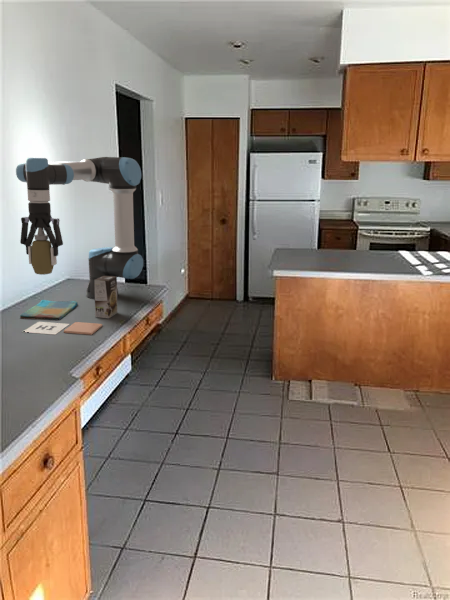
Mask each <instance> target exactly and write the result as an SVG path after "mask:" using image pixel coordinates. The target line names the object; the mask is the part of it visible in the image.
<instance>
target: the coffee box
mask: <svg viewBox="0 0 450 600" xmlns="http://www.w3.org/2000/svg"><path fill="white" fill-rule="evenodd" d="M117 278H118V277H115V276H102V277H100V278H97V279H95V299H94V311H95V312H94V315H95V316H94V317H95V318H101V319H110V318H112V317H114V316H115V315H116V314H118V296H117V288H118V279H117Z"/></svg>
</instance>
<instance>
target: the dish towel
mask: <svg viewBox="0 0 450 600" xmlns="http://www.w3.org/2000/svg"><path fill="white" fill-rule="evenodd" d="M78 305H79V304H78V301H76V300H69V301H67V300H65V301H64V300H62V301H60V300H58V301H55V300H53V301H52V300H48V299H42V300H39V302H38V303H37V304H35V305H34V306H32V307H30V308H29V309H28V310H26V311H25V312H23V313H21V314H20V315H19V317H20V319H24V318H25V320H43V321H44V320H49V321H51V320H52V321H61V320H62V319H64V318H65V317H66V316H67V315H68V314H69V313H71V312H72V311H73V310H75V308H76V307H77V306H78Z"/></svg>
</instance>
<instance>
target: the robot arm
mask: <svg viewBox="0 0 450 600" xmlns="http://www.w3.org/2000/svg"><path fill="white" fill-rule="evenodd" d="M15 175H16V178H17V179H18V180H19V181H20V182H22V183H26V189H27V190H26V191H27V200H28V203H27V204H28V216H23V217H21V218H20V221H21V230H20V231H21V232H20V240H19V241H20V244H21V245H24V246H25V252H26V255H28V264H29V265H32V242H33V241H34V239H35V235H36V233H37V231H38V228H39V227H40V228H43V229H44V232H45V234H46V235H47V236H48V240H49V241H50V242H51V246H52V247H51V265H54V266H55V265H58V264H57V263H58V261H57V257H58V256H59V247H60V246H63V245H64V242H63V236H62V234H61V233H62V232H61V228H60V221H61V220H60V218H54V217H52V215H51V214H52V213H51V212H52V211H51V208H52V207H51V202H50V201H51V195H50V194H51V193H50V186H51V185H52V186H53V185H56V186H57V185H61V186H62V185H69V184H71V183H72V182H73V181H81V180H82V181H84V182H88V183H89V182H93V183H100V184H108V185H109V187H108V188H109V190H110V191H111V192H112V195H113V197H112V198H113V223H114V224H113V225H114V245H115V246H113V247H111V246H108V247H97V248H92V249H90V250H89V252H88V258H87V259H88V271H89V280H88V284H87V287H86V293H85V295H86V296H85V297H87V298H89V299H93V300H95V279H97V278H100V277H102V276H115V277H117V278H123V279H126V280H127V279H129V280H133V279H135V278H138V276H140V274H141V273H142V270H143V266H144V258H143V256H142V255H141V254H139V249H138V248H137V246H135V231H134V230H135V224H134V222H135V221H134V219H135V218H134V192H135V191H136V190H137V185H139V184H140V183H141V179H142V170H141V166H140V165H139V163H138V161H137V160H136V159H133V158H131V157H127V156H126V157H125V156H124V157H123V156H121V157H120V156H119V157H118V156H116V157H115V156H114V157H113V156H100V157H95V158H84V159H81V161H55V162H54V161H53V162H52V161H49V160H48V158H46V157H27V158H26V159H25V162H20V163H18V164H17V166H16V168H15ZM29 222H30V224H31V225H30V227H29ZM50 223H51V224H52V227H51V224H50ZM52 228H53V230H52ZM28 230H29V231H28ZM53 231H54V232H53ZM118 296H119V288H118V287H117V297H118Z"/></svg>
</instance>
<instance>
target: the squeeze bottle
mask: <svg viewBox="0 0 450 600" xmlns="http://www.w3.org/2000/svg"><path fill="white" fill-rule="evenodd" d="M51 247H53V246H52V244H51V242H50V240H49V238H48V236H47V233H46V232H45V230H44V229H43V228H40V227H39V228H38V229H37V234H35V235H34V240H33V241H32V264H31V267H32V269H33V271H34V273H35V274H36V275H41V276H42V275H50V274H52V272H53V269H54V266H55V265H51Z"/></svg>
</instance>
